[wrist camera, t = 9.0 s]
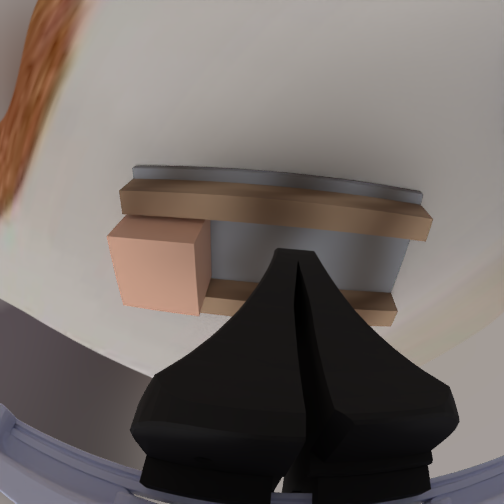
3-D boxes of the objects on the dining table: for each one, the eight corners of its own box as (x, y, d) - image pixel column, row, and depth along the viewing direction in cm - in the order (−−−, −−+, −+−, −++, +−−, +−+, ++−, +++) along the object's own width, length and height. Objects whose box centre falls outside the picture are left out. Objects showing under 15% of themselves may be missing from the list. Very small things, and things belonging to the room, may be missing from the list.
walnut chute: (420, 191, 17) (436, 208, 15) (380, 310, 22) (387, 333, 20) (135, 165, 18) (117, 179, 16) (152, 289, 23) (141, 311, 21)
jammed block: (210, 209, 18) (193, 243, 15) (211, 275, 21) (199, 316, 18) (135, 205, 19) (106, 236, 15) (144, 268, 21) (123, 305, 18)
